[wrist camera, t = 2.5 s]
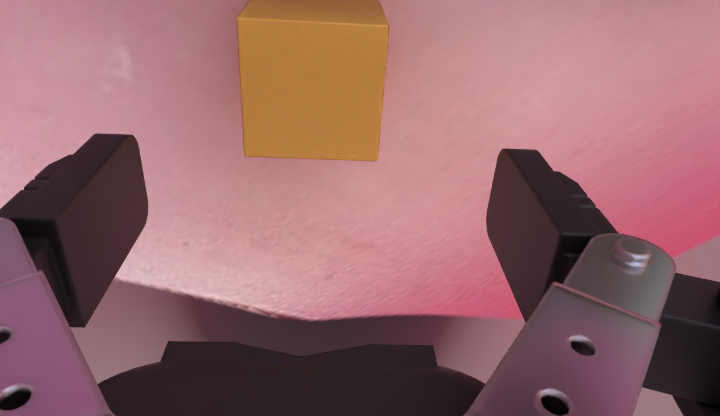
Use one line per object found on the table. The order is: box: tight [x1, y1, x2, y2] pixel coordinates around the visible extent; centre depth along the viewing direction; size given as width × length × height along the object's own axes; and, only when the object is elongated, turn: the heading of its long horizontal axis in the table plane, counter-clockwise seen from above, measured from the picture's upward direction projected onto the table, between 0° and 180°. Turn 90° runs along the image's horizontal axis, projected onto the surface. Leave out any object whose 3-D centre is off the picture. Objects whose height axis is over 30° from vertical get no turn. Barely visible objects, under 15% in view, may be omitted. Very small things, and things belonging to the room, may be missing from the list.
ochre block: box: [237, 0, 389, 161], centre depth 19 cm, size 5×5×5 cm
